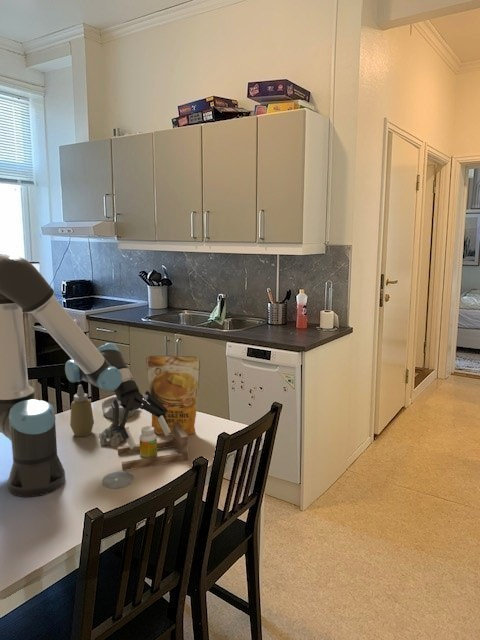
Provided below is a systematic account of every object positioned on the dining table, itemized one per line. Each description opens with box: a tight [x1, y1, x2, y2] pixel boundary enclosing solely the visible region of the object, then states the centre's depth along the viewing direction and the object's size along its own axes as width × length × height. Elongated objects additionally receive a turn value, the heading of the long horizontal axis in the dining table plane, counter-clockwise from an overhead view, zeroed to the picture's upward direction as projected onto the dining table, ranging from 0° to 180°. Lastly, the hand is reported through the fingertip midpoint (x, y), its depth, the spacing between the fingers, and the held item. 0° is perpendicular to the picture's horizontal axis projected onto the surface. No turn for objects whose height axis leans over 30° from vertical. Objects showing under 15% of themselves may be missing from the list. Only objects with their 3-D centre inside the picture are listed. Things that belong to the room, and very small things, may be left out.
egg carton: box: [97, 423, 130, 447], centre depth 171 cm, size 11×8×4 cm
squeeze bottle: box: [69, 384, 95, 437], centre depth 174 cm, size 8×8×18 cm
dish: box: [101, 396, 137, 420], centre depth 195 cm, size 14×14×5 cm
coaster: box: [101, 470, 135, 490], centre depth 143 cm, size 9×9×1 cm
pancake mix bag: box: [145, 355, 201, 436], centre depth 176 cm, size 7×19×28 cm, turn 85°
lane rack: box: [117, 422, 189, 471], centre depth 158 cm, size 20×12×8 cm, turn 110°
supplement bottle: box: [139, 425, 158, 459], centre depth 157 cm, size 5×5×10 cm
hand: (151, 440), depth 157 cm, fingers open, 13 cm apart
